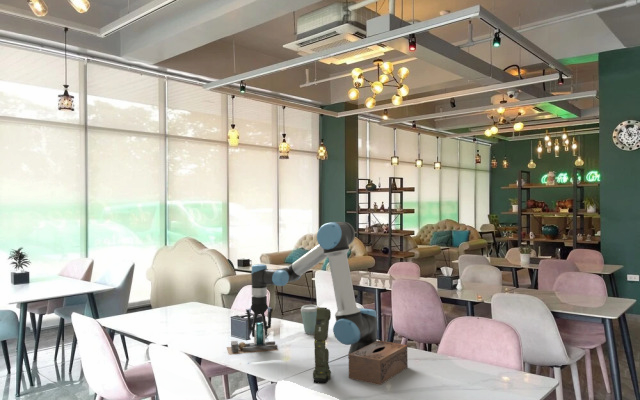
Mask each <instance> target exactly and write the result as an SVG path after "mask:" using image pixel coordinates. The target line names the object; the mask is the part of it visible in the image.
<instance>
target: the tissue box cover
mask: <svg viewBox="0 0 640 400" xmlns="http://www.w3.org/2000/svg"><path fill="white" fill-rule="evenodd" d="M408 364H409V362H408V344H403V343H397V342H392V341H391V342H390V341H384V340H379V339H377V341H376V342H374V343H372V344H370V345H368V346H365V347H363V348H361V349H359V350H357V351H355V352H353V353H351V354H349V359H348V379H351V380H356V381H359V382H360V381H361V382H365V383H369V384H373V385H378V386H381V385H382V384H384V383H385V381H386V382H387V381H389V380H390V379H392V378H393V377H395V376H396V375H398V374H399V373H401V372H403V371H404V370H406V369H407V368H408V367H409V366H408ZM388 379H389V380H388Z"/></svg>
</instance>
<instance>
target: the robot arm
mask: <svg viewBox="0 0 640 400" xmlns="http://www.w3.org/2000/svg"><path fill="white" fill-rule="evenodd" d="M355 237H356V232H355V228H354V227H353V225H351V224H350V223H349V222H347V221H332V222H327V223H324V224H322V225H321V226H320V227H319V229H318V230H317V233H316V242H317V245H316V246H315V247H313V248H312V249H310V250H308V251H307V252H306V253H304V254H303V255H302V256H301V257H299V258H298V259H297V260H295V261H294V262H293V263H291V264H289V265H288V266H287V267H282V268H277V269H269V268H268V267H267V264H262V263H260V264H259V263H258V264H253V265H252V266H251V273H250V275H251V306H250V308H247V309H245V312H246V314H247V328H248V330H249V331H251V337H252V338H253V343H254V344H256V323H257V319H258V316H261V318H262V319H261V320H262V323H263V343H265V342H266V337H267V336H268V329H271V328H272V312H273V310H274V309H273V307H269V306H268V296H267V294H268V285H269V286H277V287H284V286H286V285H287V284H288V283H291V282H292V283H293V282H296V281H298V280H300V278H301V277H302V275H304V274H306V272H309V271H310V270H312V268H314V267H315V266H317V265H318V264H319V263H321V262H323V261H324V260H325V259H327V258H328V263H329V269H330V276H331V279H332V286H333V291H334V297H335V303H336V309H337V310H336V312H335V314H334V317H335V322H334V324H333V327H332V332H333V336H334V337H335V340H337V341H338V342H339V343H340V344H342V345H346V346H350V347H349V350H348V360H349V354H351V353H353V352H355V351H357V350H359V349H361V348H363V347H365V346H368V345H370V344H372V343H374V342H376V341H378V338H377V336H378V331H377V328H378V326H377V323H378V321H377V319H378V317H377V311H376V310H374V309H372V308H364V307H362V308H361V307H359V308H358V307H357V303H356V298H355V292H354V287H353V279H352V276H351V271H350V270H351V269H350V266H349V260H348V259H349V258H348V253H349V251H350V245H351V244H352V243H353V242H354V240H355ZM251 312H253V320H252V322H251ZM266 312H267V313H268V314H267V319H266V315H265V313H266Z"/></svg>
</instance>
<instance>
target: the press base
mask: <svg viewBox="0 0 640 400" xmlns="http://www.w3.org/2000/svg"><path fill="white" fill-rule="evenodd" d="M249 343H250V342H249ZM249 343H248V342H247V343H246V342H245V344H246V347H243V350H241V349H239V342H238V340H232V341H230V346H227V347H226V350H227V354H228V356H229V355H242V354H253V353H265V352H277V351H279V348H278V346H279V345H278V344H276V341H275V340H274V341H273V340H271V341H265V343H266V345H265V346H253V347H250V346H249Z"/></svg>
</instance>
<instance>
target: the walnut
mask: <svg viewBox="0 0 640 400" xmlns="http://www.w3.org/2000/svg"><path fill="white" fill-rule="evenodd" d="M238 344H239V349H241V350H243V347H246V342H244V341H241V342H238Z"/></svg>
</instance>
